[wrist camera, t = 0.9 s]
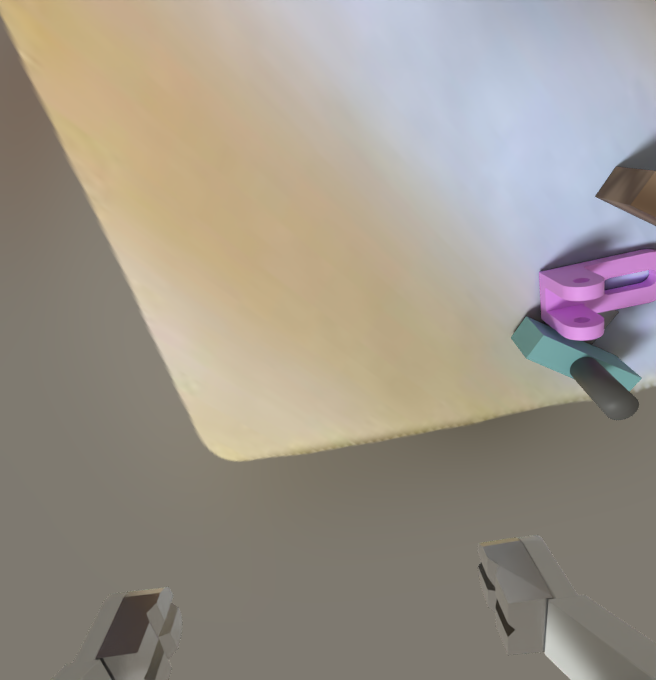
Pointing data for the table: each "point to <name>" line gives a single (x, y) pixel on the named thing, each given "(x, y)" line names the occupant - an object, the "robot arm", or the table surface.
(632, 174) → the base
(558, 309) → the bracket
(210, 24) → the table surface
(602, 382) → the clamp jaw
